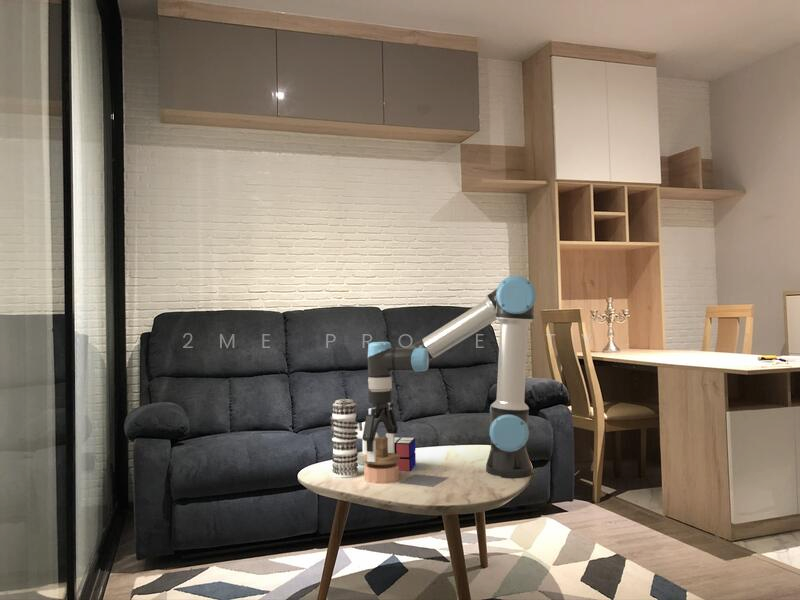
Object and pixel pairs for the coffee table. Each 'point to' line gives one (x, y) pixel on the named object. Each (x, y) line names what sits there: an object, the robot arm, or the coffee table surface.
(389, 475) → the bowl
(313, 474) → the coffee table surface
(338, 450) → the patterned cylinder
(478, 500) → the coffee table surface
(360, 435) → the figurine
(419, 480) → the mat
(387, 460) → the lid
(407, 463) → the puzzle cube
